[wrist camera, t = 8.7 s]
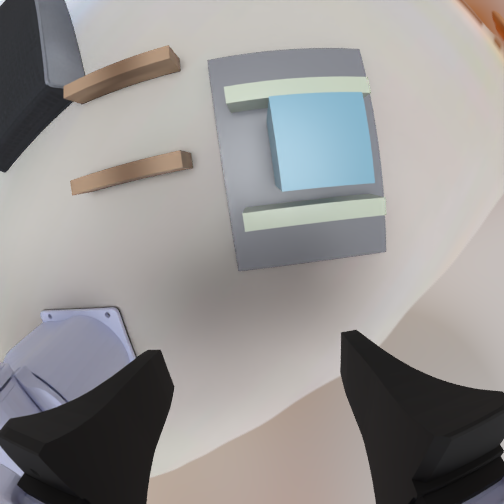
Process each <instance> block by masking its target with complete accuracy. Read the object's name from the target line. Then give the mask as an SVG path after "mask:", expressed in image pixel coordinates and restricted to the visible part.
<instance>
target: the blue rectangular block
mask: <svg viewBox="0 0 504 504" xmlns="http://www.w3.org/2000/svg"><path fill="white" fill-rule="evenodd" d="M266 122H267V129H268V136H269V143H270V150H271V157H272V164H273V172H274V179H275V186H276V187H278V188H279V189H280V190H281V191H282V192H285V191H293V190H302V189H312V188H322V187H333V186H344V185H356V184H369V183H375V177H374V167H373V158H372V150H371V142H370V135H369V128H368V122H367V116H366V110H365V104H364V99H363V94H362V92H322V93H303V94H289V95H278V96H269V98H268V110H267V121H266Z"/></svg>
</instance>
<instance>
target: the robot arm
mask: <svg viewBox="0 0 504 504" xmlns="http://www.w3.org/2000/svg"><path fill="white" fill-rule="evenodd" d="M107 312H108V313H109V314H110V316H109V315H108V314H107ZM40 315H41V318H42V321H43V323H41V324H40V325H39V326H38V327H37V328H35V329H34V330H33V331H32V332H31V333H29V334H28V335H27V336H26V337H25V338H23V339H22V340H21V341H20V342H19V343H17V344H16V345H15V346H14V347H13V348H12V349H11V350H10V351H9V352H8V353H7V354H6V356H5V358H4V361H3V362H0V504H146V501H147V491H148V483H149V477H150V471H151V466H152V461H153V456H154V453H155V449H156V446H157V443H158V440H159V438H160V435H161V432H162V429H163V426H164V424H165V421H166V418H167V415H168V412H169V410H170V407H171V402H172V397H173V392H174V385H173V382H172V379H171V377H170V374H169V372H168V369H167V366H166V363H165V361H164V358H163V355H162V352H161V350H147V351H145V352H144V353H142V354H141V355H140V356H138V357H137V358H136V357H135V354H134V351H133V349H132V346H131V344H130V341H129V338H128V335H127V333H126V330H125V327H124V324H123V321H122V318H121V315H120V313H119V311H118V310H117V309H116V308H114V307H109V308H90V309H67V310H43V311H42V312H41V313H40ZM340 373H341V377H342V381H343V385H344V389H345V393H346V396H347V398H348V401H349V403H350V406H351V408H352V411H353V414H354V416H355V419H356V421H357V424H358V426H359V429H360V431H361V434H362V437H363V440H364V443H365V448H366V452H367V456H368V461H369V465H370V470H371V475H372V480H373V487H374V493H375V499H376V504H504V461H503V459H502V458H501V455H502V454H503V451H504V450H503V449H502V447H501V446H500V443H501V442H502V441H503V439H504V393H503V392H500V391H490V390H480V389H474V388H469V387H465V386H460V385H456V384H453V383H449V382H446V381H443V380H440V379H437V378H435V377H432V376H430V375H427V374H425V373H423V372H420V371H419V370H416V369H414V368H412V367H410V366H409V365H407V364H405V363H403V362H402V361H400V360H398V359H397V358H395V357H393V356H392V355H390V354H389V353H387V352H386V351H384V350H383V349H381V348H380V347H379V346H377V345H376V344H375V343H373V342H372V341H371V340H369V339H368V338H367V337H365V336H364V335H363V334H361V333H360V332H359V331H357V330H353V331H347V332H341V370H340Z"/></svg>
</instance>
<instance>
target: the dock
mask: <svg viewBox="0 0 504 504" xmlns="http://www.w3.org/2000/svg"><path fill="white" fill-rule="evenodd" d="M207 61H208V68H209V76H210V83H211V91H212V98H213V105H214V113H215V120H216V127H217V134H218V141H219V147H220V154H221V161H222V168H223V175H224V181H225V188H226V194H227V201H228V207H229V214H230V220H231V226H232V233H233V239H234V245H235V251H236V258H237V264H238V270H239V271H246V270H254V269H262V268H270V267H278V266H286V265H294V264H301V263H309V262H317V261H324V260H331V259H339V258H346V257H353V256H360V255H367V254H374V253H381V252H386V228H385V215H386V200H385V197H384V193H383V181H382V170H381V161H380V153H379V145H378V138H377V131H376V125H375V119H374V113H373V108H372V102H371V97H370V93H371V90H370V85H369V81H368V77H366V74H365V70H364V65H363V61H362V57H361V54H360V50H359V49H346V48H309V49H289V50H276V51H265V52H256V53H248V54H241V55H234V56H228V57H222V58H217V59H211V60H207ZM322 92H362V94H363V99H364V104H365V110H366V116H367V122H368V128H369V135H370V142H371V150H372V158H373V167H374V177H375V183H369V184H356V185H344V186H333V187H322V188H312V189H302V190H293V191H285V192H282V191H281V190H280V189H279V188H278V187H276V186H275V179H274V172H273V164H272V157H271V150H270V143H269V136H268V129H267V122H266V121H267V110H268V98H269V96H278V95H289V94H303V93H322Z"/></svg>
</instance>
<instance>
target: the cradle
mask: <svg viewBox="0 0 504 504" xmlns="http://www.w3.org/2000/svg"><path fill="white" fill-rule="evenodd" d="M178 71H180V61H179V58H178V57H177V55H176V54H175V53H174V52H173V50H172V49H171V48H170V47H169V45H168V46H164V47H161V48H157V49H154V50H151V51H148V52H145V53H142V54H139V55H136V56H133V57H130V58H127V59H124V60H122V61H119V62H116V63H114V64H111V65H109V66H106V67H104V68H102V69H99V70H97V71H95V72H92V73H90V74H88V75H86V76H84V77H81V78H79V79H77V80H75V81H73V82H71V83H69V84H67V85H65V86H64V99H67V100H70V101H74V102H77V103H81V104H84V103H86V102H88V101H91V100H93V99H96V98H98V97H101V96H103V95H106V94H108V93H111V92H114V91H116V90H119V89H122V88H125V87H128V86H130V85H133V84H136V83H140V82H143V81H146V80H149V79H153V78H156V77H159V76H163V75H167V74H170V73H174V72H178ZM190 168H193V164H192V158H191V153H188V152H185V151H181V150H180V151H175V152H171V153H166V154H162V155H158V156H154V157H149V158H145V159H141V160H138V161H134V162H130V163H126V164H123V165H119V166H116V167H112V168H109V169H105V170H102V171H99V172H96V173H92V174H89V175H86V176H83V177H80V178H77V179H74V180H71V181H70V183H71V190H72V195H77V194H83V193H88V192H93V191H97V190H100V189H104V188H108V187H111V186H115V185H119V184H123V183H127V182H131V181H135V180H139V179H143V178H148V177H152V176H157V175H161V174H166V173H170V172H175V171H180V170H185V169H190Z"/></svg>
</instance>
